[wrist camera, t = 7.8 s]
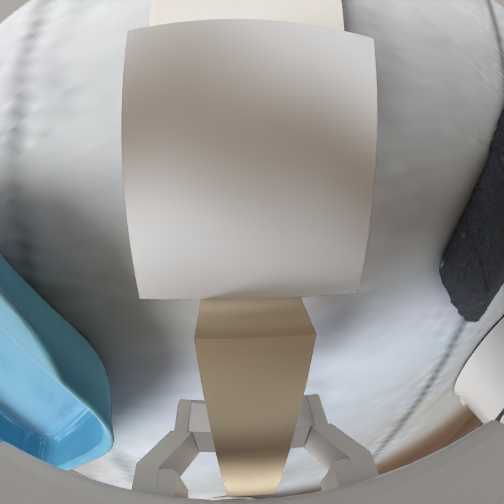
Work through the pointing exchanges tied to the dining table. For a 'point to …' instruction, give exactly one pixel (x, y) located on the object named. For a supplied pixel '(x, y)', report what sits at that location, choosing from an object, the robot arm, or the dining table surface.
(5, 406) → the casserole dish
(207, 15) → the tile
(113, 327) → the dining table surface
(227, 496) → the coffee can
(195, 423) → the robot arm
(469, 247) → the black folded cloth
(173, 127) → the turner
